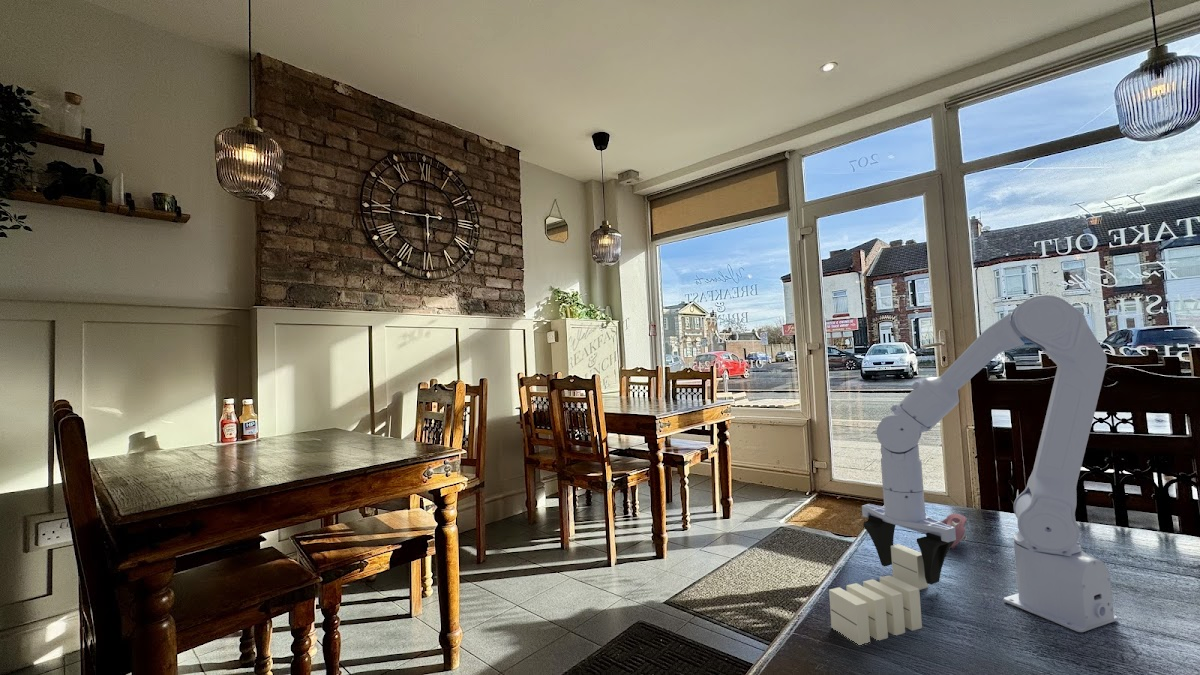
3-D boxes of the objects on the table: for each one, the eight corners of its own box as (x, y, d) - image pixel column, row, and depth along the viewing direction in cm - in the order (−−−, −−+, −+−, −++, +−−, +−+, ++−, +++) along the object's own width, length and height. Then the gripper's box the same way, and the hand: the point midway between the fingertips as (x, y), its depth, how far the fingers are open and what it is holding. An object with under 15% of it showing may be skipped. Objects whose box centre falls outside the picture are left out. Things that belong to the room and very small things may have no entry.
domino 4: (928, 587, 80) (925, 554, 80) (919, 590, 79) (916, 556, 79) (901, 575, 84) (898, 544, 84) (892, 577, 84) (890, 545, 84)
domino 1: (870, 643, 66) (867, 602, 66) (859, 646, 65) (856, 605, 65) (842, 625, 70) (839, 587, 71) (831, 628, 70) (828, 589, 70)
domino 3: (905, 632, 68) (902, 593, 68) (894, 635, 67) (891, 596, 67) (875, 616, 72) (872, 579, 72) (865, 618, 72) (862, 581, 72)
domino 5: (922, 628, 69) (919, 589, 69) (912, 631, 68) (909, 591, 68) (891, 611, 73) (889, 575, 73) (882, 614, 73) (879, 577, 73)
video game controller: (954, 563, 91) (972, 530, 90) (926, 547, 94) (944, 515, 92) (956, 545, 99) (973, 515, 97) (930, 531, 102) (947, 501, 100)
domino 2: (888, 638, 67) (885, 597, 67) (877, 641, 66) (874, 600, 66) (859, 620, 71) (856, 583, 71) (848, 623, 71) (846, 585, 71)
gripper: (965, 494, 77) (972, 584, 77) (879, 475, 90) (885, 552, 90) (935, 501, 74) (942, 596, 74) (851, 481, 88) (856, 561, 87)
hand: (909, 573), depth 82 cm, fingers open, 7 cm apart
